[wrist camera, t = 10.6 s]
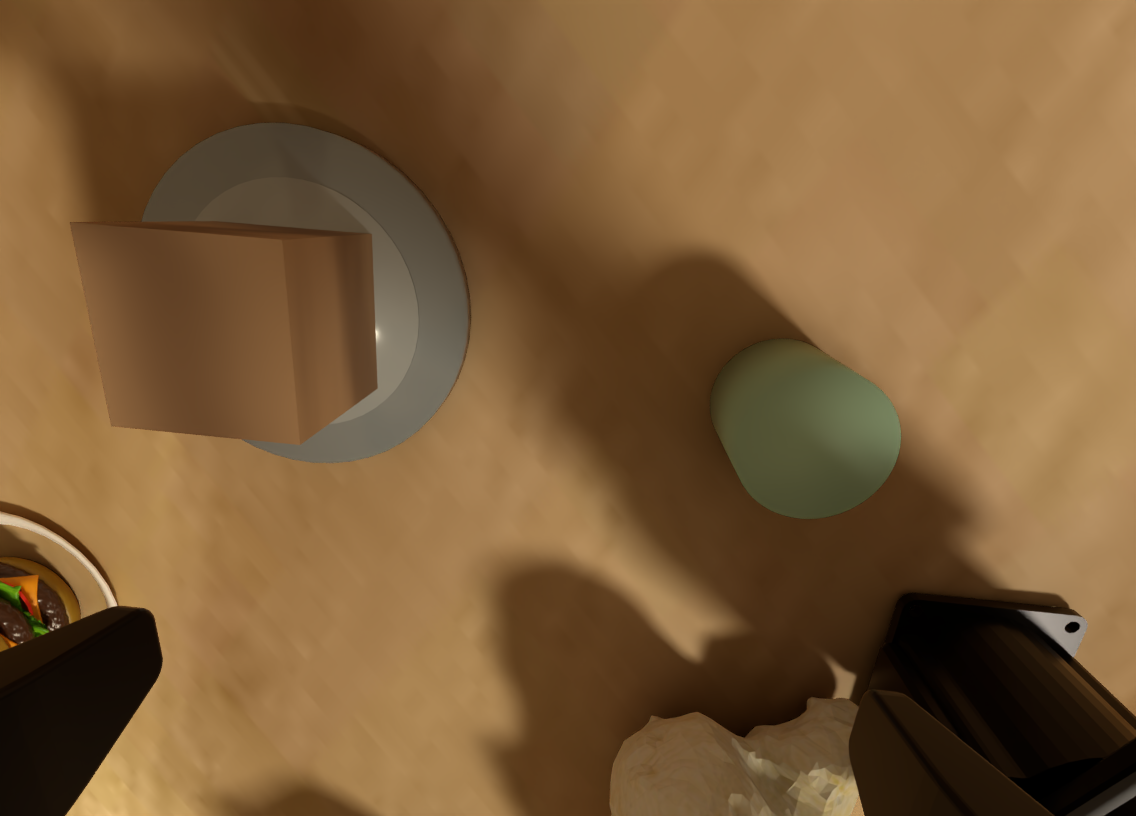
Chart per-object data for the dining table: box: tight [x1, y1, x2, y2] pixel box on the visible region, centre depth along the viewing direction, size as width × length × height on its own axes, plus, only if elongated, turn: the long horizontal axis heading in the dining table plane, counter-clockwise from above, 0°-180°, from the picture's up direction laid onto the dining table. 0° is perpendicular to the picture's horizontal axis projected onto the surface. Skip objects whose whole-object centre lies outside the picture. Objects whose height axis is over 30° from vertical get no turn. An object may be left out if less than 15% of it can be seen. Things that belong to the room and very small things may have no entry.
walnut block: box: [70, 221, 378, 445], centre depth 16 cm, size 5×5×5 cm
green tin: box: [710, 339, 901, 519], centre depth 17 cm, size 4×4×4 cm
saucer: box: [141, 123, 471, 463], centre depth 19 cm, size 11×11×1 cm
